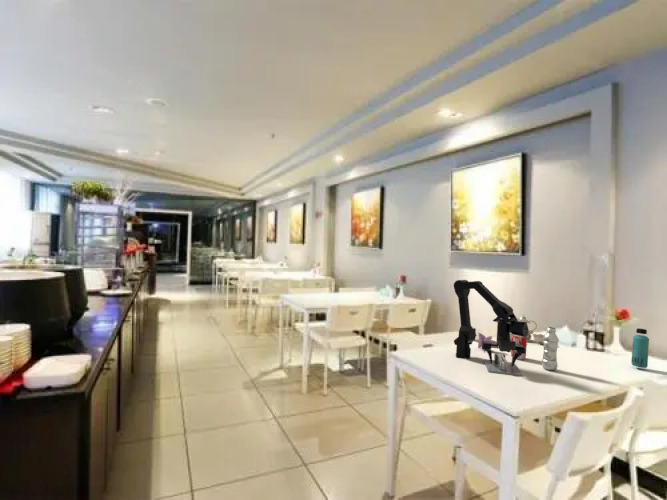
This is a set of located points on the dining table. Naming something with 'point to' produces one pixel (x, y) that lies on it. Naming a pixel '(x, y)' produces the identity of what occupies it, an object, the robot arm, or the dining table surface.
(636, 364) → the beverage bottle
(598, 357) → the dining table surface
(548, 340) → the plastic bottle
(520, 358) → the soda can
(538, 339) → the chinaware
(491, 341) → the lily
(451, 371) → the dining table surface
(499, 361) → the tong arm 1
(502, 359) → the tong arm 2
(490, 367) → the slate rest
